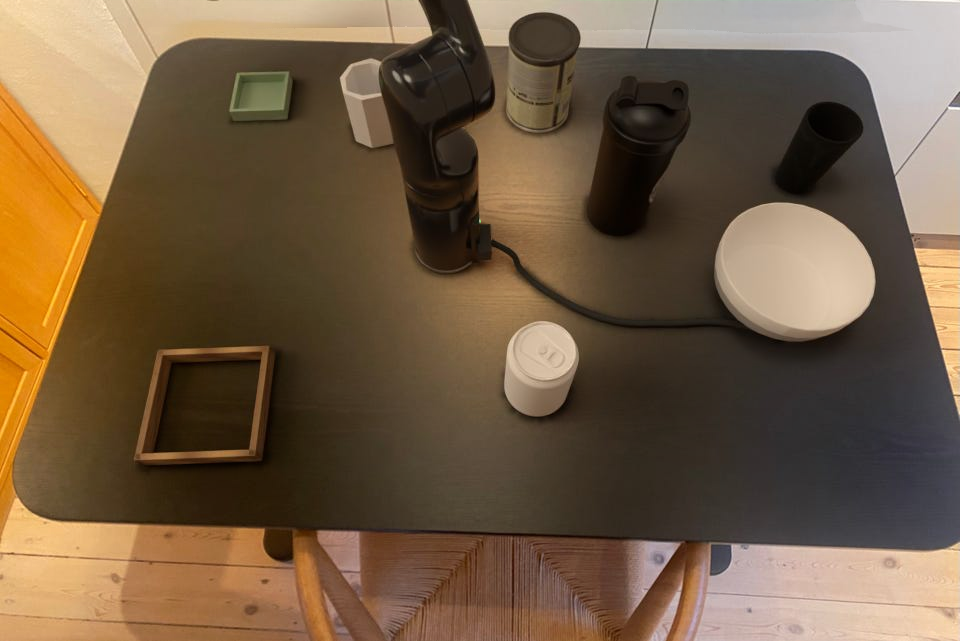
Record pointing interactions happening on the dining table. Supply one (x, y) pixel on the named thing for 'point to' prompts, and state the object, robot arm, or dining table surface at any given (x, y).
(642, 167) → the water bottle
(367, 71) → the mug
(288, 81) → the tray
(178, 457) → the wooden square frame
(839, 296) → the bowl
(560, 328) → the beverage can
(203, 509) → the dining table surface
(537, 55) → the coffee can
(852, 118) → the cup
